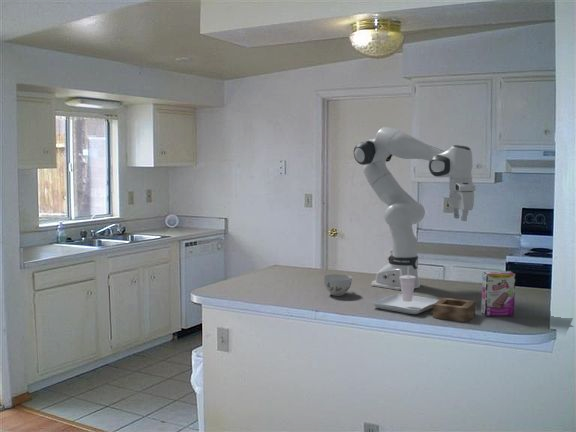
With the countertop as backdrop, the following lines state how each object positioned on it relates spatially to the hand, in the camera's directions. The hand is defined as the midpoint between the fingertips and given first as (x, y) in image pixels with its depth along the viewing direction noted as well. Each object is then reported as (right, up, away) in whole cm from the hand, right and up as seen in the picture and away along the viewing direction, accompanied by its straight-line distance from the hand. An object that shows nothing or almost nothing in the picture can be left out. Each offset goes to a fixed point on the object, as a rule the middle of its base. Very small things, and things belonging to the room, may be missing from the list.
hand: (460, 219), depth 246 cm
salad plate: (-22, -36, -4) cm, 43 cm away
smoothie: (-22, -33, -4) cm, 40 cm away
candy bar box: (+9, -36, -17) cm, 41 cm away
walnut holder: (-7, -36, -17) cm, 41 cm away
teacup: (-48, -33, +21) cm, 61 cm away
